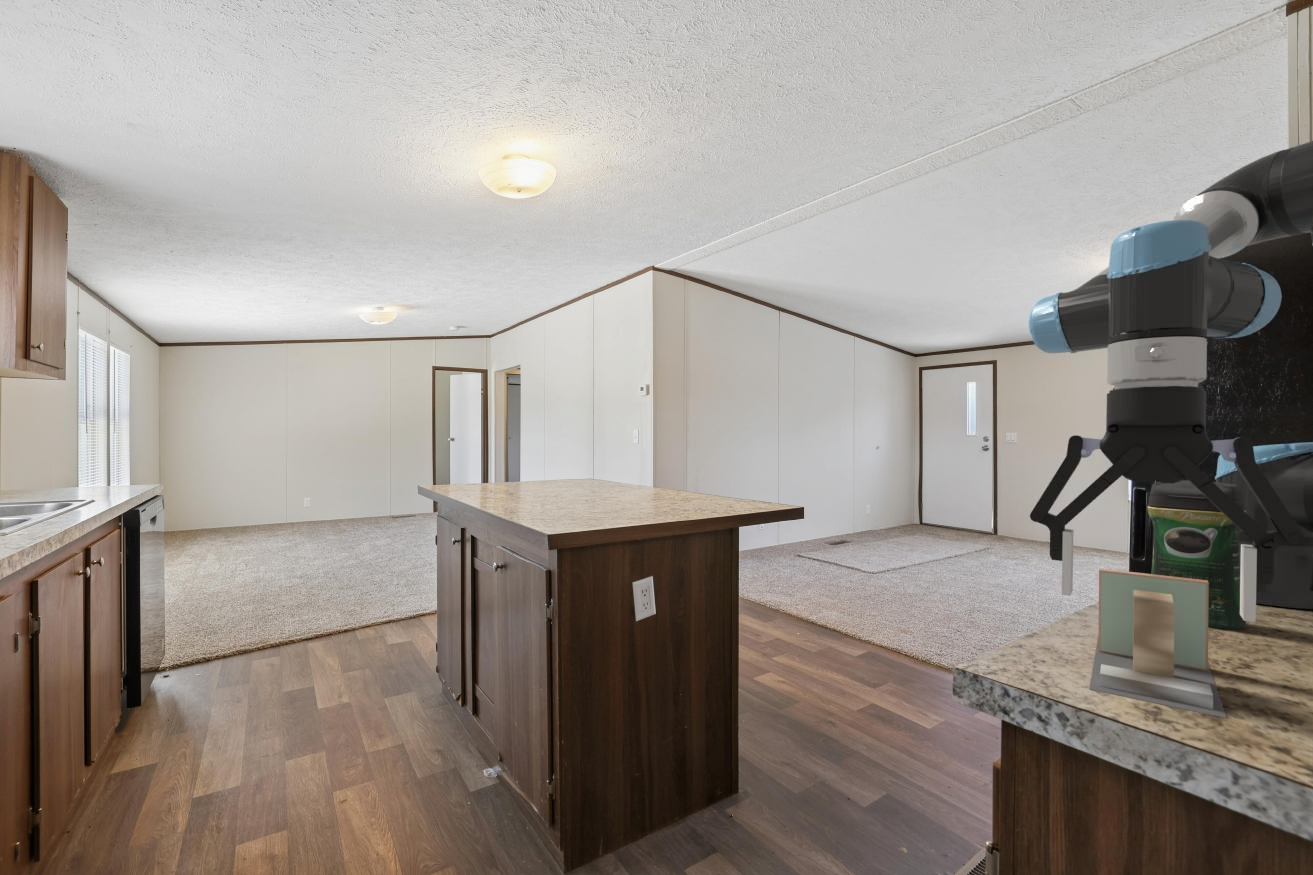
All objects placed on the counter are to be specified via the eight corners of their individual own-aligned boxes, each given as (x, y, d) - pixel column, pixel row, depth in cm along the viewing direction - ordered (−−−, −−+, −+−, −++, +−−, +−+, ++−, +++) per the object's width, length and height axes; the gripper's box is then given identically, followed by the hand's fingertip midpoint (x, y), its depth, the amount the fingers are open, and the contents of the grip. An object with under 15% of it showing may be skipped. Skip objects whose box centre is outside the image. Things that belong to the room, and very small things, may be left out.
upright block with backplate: (1204, 680, 60) (1205, 598, 60) (1213, 709, 53) (1213, 617, 53) (1102, 661, 65) (1103, 585, 65) (1099, 685, 58) (1100, 601, 58)
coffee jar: (1251, 625, 79) (1252, 481, 79) (1238, 637, 74) (1239, 484, 74) (1157, 608, 87) (1158, 477, 87) (1139, 618, 82) (1141, 479, 82)
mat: (1200, 645, 71) (1200, 641, 71) (1226, 723, 52) (1226, 717, 52) (1099, 629, 77) (1099, 625, 77) (1089, 694, 58) (1089, 688, 58)
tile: (1206, 667, 63) (1207, 580, 63) (1208, 671, 62) (1208, 582, 62) (1098, 648, 69) (1099, 568, 68) (1098, 651, 67) (1099, 570, 67)
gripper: (1002, 388, 64) (999, 590, 64) (1356, 377, 49) (1352, 642, 49) (1013, 393, 70) (1010, 578, 70) (1332, 385, 55) (1328, 621, 55)
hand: (1151, 605), depth 60 cm, fingers open, 13 cm apart
